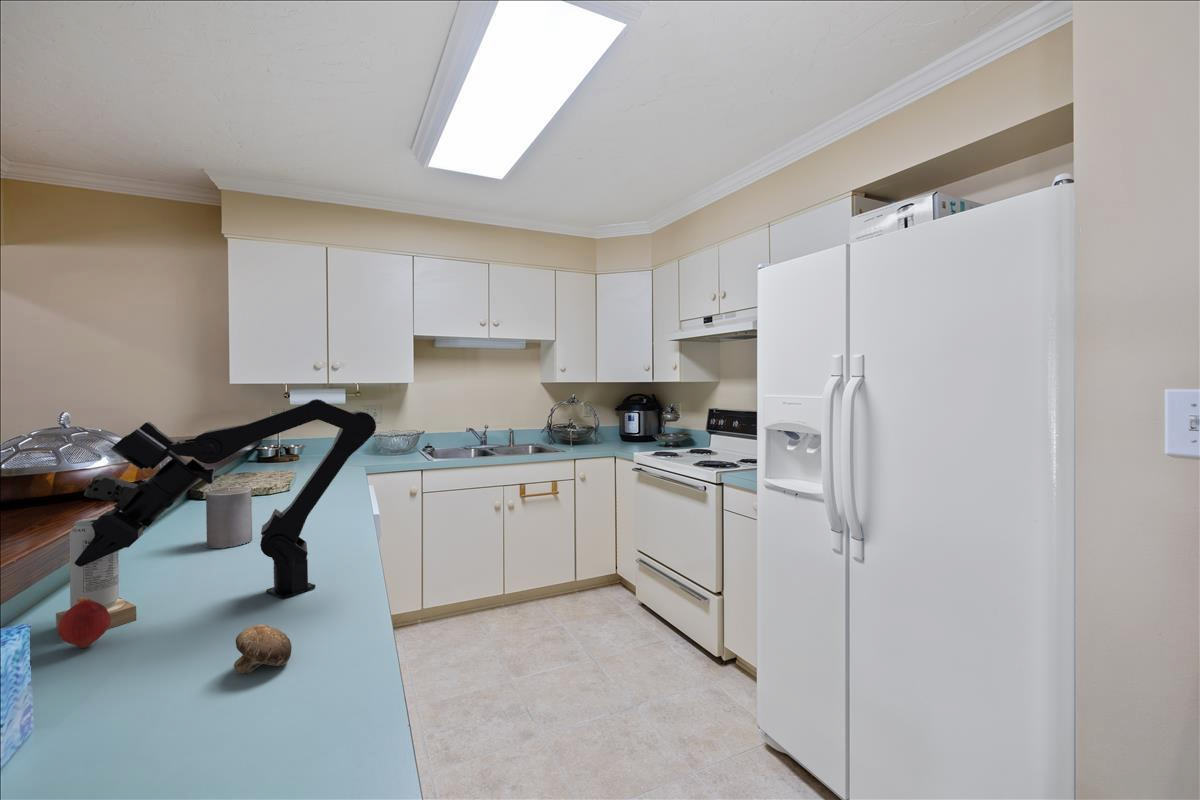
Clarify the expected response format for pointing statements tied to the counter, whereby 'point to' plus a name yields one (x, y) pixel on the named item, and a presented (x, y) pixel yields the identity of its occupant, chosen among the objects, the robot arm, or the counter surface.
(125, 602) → the pedestal
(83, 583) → the energy drink can
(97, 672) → the counter surface
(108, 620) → the pomegranate
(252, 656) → the mushroom
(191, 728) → the counter surface
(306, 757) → the counter surface
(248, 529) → the pillar candle
